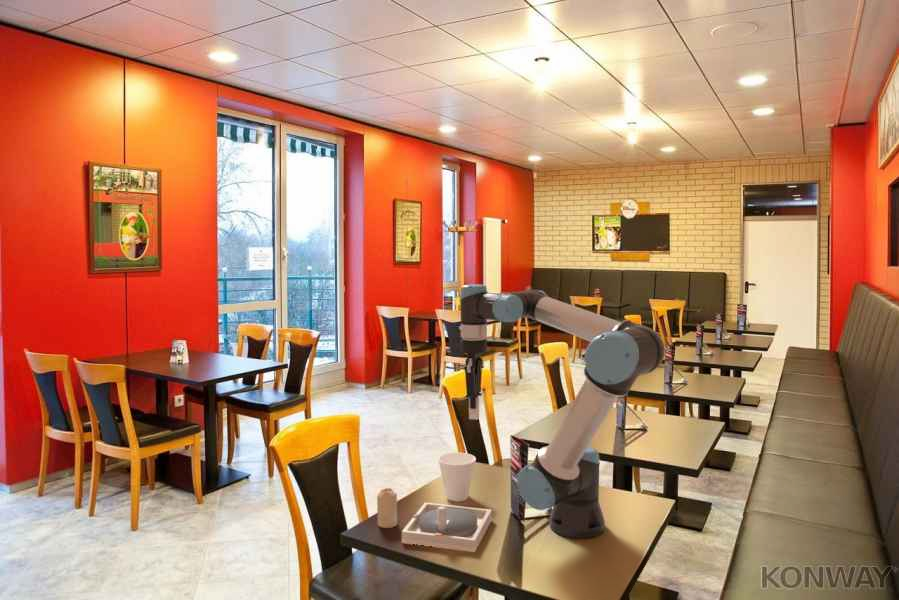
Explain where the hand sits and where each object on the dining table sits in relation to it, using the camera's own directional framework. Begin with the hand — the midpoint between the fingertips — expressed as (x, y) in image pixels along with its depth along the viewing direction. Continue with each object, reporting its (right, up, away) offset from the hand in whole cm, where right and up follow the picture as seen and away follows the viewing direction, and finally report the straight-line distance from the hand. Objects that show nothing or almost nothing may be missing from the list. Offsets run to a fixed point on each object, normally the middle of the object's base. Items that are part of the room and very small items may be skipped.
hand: (474, 418), depth 194 cm
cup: (-5, -27, +15) cm, 31 cm away
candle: (-25, -29, -4) cm, 39 cm away
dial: (-7, -28, -10) cm, 31 cm away
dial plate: (-7, -30, -9) cm, 32 cm away
